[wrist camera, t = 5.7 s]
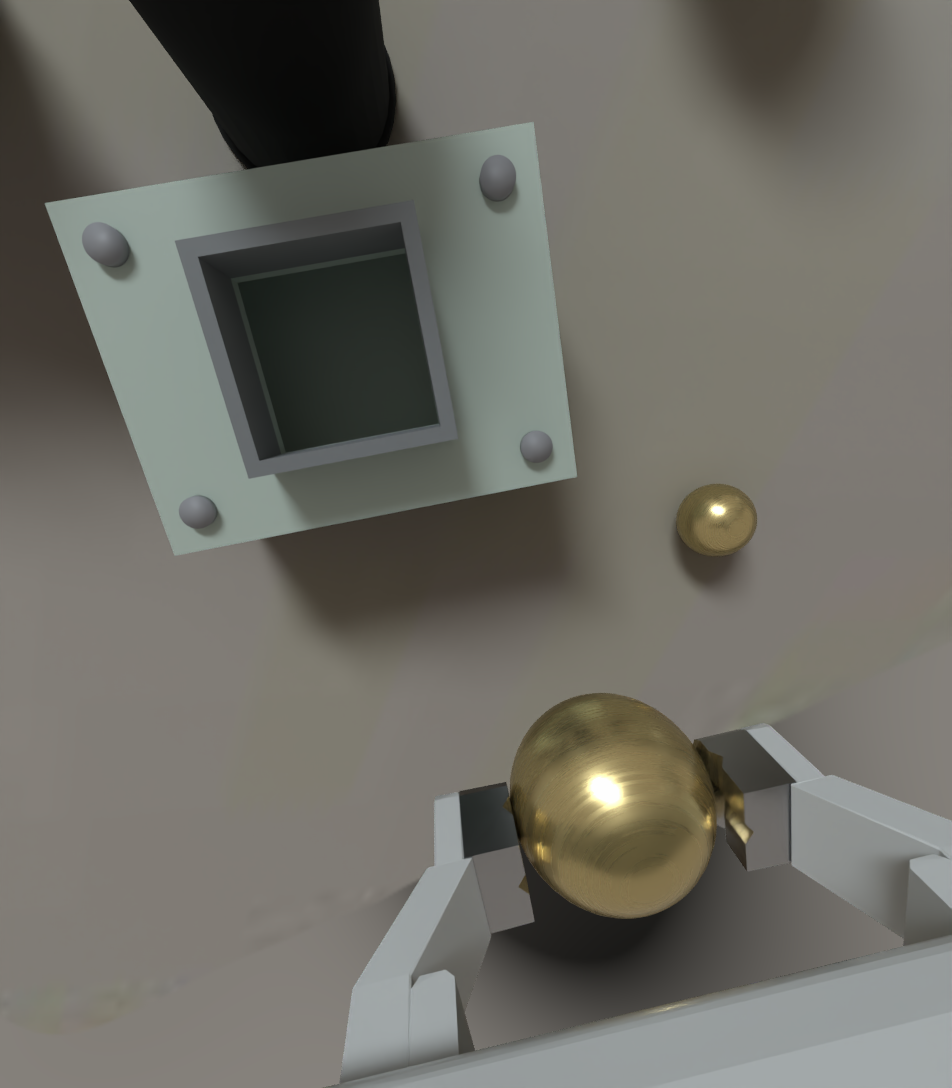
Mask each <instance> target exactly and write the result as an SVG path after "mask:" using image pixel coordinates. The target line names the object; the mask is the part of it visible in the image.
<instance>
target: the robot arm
mask: <svg viewBox="0 0 952 1088" xmlns="http://www.w3.org/2000/svg"><path fill="white" fill-rule="evenodd" d="M693 746H694V747H695V749H696V750H697V752H698V753H699V755H700V757H701V759H702V761H703V763H704V765H705V767H706V769H707V771H708V774H709V777H710V780H711V783H712V787H713V790H714V794H715V801H716V809H717V825H719V826H720V827H722V828H724V829H725V832H726V842H727V844H728V845H729V846H730V848H731V849H732V851H733V852H734V854H735V855H736V857H737V858H738V859H739V861H740V862H741V863H742V865H743V866H744V868H745V869H746V871H747V872H748V871H753V870H758V869H763V868H768V867H773V866H778V865H783V864H788V863H792V866H794V867H795V868H796V869H798V870H799V871H801V872H803V873H804V874H806V875H807V876H809V877H810V878H812V879H814V880H815V881H816V882H818V883H819V884H821V885H822V886H824V887H826V888H827V889H828V890H830V891H832V892H833V893H835V894H836V895H838V896H839V897H841V898H842V899H844V900H845V901H847V902H848V903H850V904H851V905H853V906H854V907H856V908H858V909H859V910H861V911H862V912H864V913H865V914H867V915H868V916H870V917H871V918H873V919H874V920H876V921H877V922H879V923H881V924H882V925H884V926H885V927H887V928H888V929H890V930H891V931H893V932H894V933H896V934H897V935H899V936H900V937H902V938H904V945H903V947H899V948H895V949H891V950H887V951H883V952H878V953H874V954H870V955H866V956H862V957H858V958H854V959H850V960H846V961H842V962H838V963H833V964H829V965H825V966H821V967H817V968H813V969H809V970H805V971H801V972H797V973H793V974H789V975H784V976H780V977H776V978H773V979H768V980H764V981H760V982H756V983H752V984H747V985H743V986H739V987H735V988H731V989H727V990H723V991H719V992H715V993H710V994H706V995H703V996H698V997H694V998H690V999H686V1000H681V1001H678V1002H673V1003H669V1004H665V1005H661V1006H657V1007H653V1008H649V1009H645V1010H640V1011H637V1012H632V1013H628V1014H624V1015H620V1016H616V1017H612V1018H607V1019H603V1020H599V1021H595V1022H591V1023H587V1024H583V1025H579V1026H575V1027H570V1028H566V1029H562V1030H558V1031H554V1032H550V1033H546V1034H542V1035H538V1036H534V1037H529V1038H526V1039H521V1040H517V1041H513V1042H509V1043H505V1044H501V1045H497V1046H492V1047H488V1048H485V1049H480V1050H476V1051H475V1048H474V1045H473V1041H472V1037H471V1034H470V1030H469V1027H468V1023H467V1019H466V1016H465V1010H466V1007H467V1004H468V1001H469V998H470V995H471V992H472V990H473V987H474V984H475V981H476V978H477V976H478V973H479V970H480V967H481V964H482V961H483V959H484V956H485V953H486V950H487V947H488V944H489V942H490V939H491V933H494V932H498V931H502V930H506V929H509V928H513V927H517V926H520V925H524V924H528V923H532V922H535V921H534V916H533V911H532V906H531V901H530V896H529V891H528V886H527V881H526V875H525V870H524V865H523V861H522V856H521V851H520V846H519V841H518V836H517V832H516V827H515V821H514V816H513V812H512V807H511V802H510V798H509V793H508V788H507V783H506V782H503V783H498V784H493V785H488V786H483V787H478V788H473V789H468V790H463V791H460V792H456V793H451V794H445V795H440V796H436V797H435V801H434V860H435V866H433V867H429V868H427V869H426V871H425V872H424V874H423V875H422V877H421V879H420V880H419V882H418V884H417V885H416V887H415V888H414V890H413V892H412V893H411V895H410V897H409V898H408V900H407V902H406V903H405V905H404V906H403V908H402V910H401V911H400V913H399V914H398V916H397V918H396V919H395V921H394V923H393V924H392V926H391V927H390V929H389V931H388V932H387V934H386V936H385V937H384V939H383V940H382V942H381V944H380V945H379V947H378V948H377V950H376V952H375V953H374V955H373V957H372V958H371V960H370V961H369V963H368V965H367V966H366V968H365V969H364V971H363V973H362V974H361V976H360V978H359V979H358V981H357V982H356V984H355V986H354V987H353V990H352V997H351V1005H350V1012H349V1019H348V1026H347V1034H346V1041H345V1048H344V1056H343V1062H342V1070H341V1077H340V1084H337V1085H333V1086H328V1087H325V1088H952V821H951V820H948V819H946V818H943V817H940V816H938V815H935V814H933V813H930V812H927V811H925V810H922V809H919V808H917V807H914V806H912V805H909V804H907V803H904V802H901V801H899V800H896V799H894V798H891V797H889V796H886V795H883V794H881V793H878V792H876V791H873V790H870V789H868V788H865V787H863V786H860V785H858V784H855V783H852V782H850V781H847V780H844V779H842V778H839V777H837V776H834V775H830V776H824V775H823V774H822V773H821V772H820V771H819V770H818V769H816V767H814V766H813V765H812V764H811V763H810V762H809V761H808V760H807V759H806V758H805V757H803V755H801V754H800V753H799V752H798V751H797V750H796V749H795V748H794V747H793V746H792V745H791V744H789V743H788V742H787V741H786V740H785V739H784V738H783V737H782V736H781V735H780V734H779V733H777V732H776V731H775V730H774V729H773V728H772V727H771V726H770V725H768V724H765V723H761V724H757V725H753V726H749V727H745V728H741V729H740V730H734V731H729V732H725V733H721V734H716V735H712V736H708V737H704V738H699V739H695V740H694V743H693Z"/></svg>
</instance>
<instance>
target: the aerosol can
mask: <svg viewBox="0 0 952 1088" xmlns="http://www.w3.org/2000/svg"><path fill="white" fill-rule="evenodd" d="M129 1H130V2H131V3H132V5H133V6H134V7H135V9H136V10H137V11H138V13H139V14H140V16H141V17H142V18H143V20H144V21H145V22H146V24H147V25H148V26H149V28H150V29H151V31H152V32H153V33H154V35H155V36H156V37H157V39H158V40H159V41H160V43H161V44H162V46H163V47H164V48H165V50H166V51H167V52H168V54H169V55H170V56H171V58H172V59H173V61H174V62H175V63H176V65H177V66H178V67H179V69H180V70H181V71H182V73H183V74H184V76H185V77H186V78H187V80H188V81H189V82H190V84H191V85H192V86H193V88H194V89H195V91H196V92H197V93H198V95H199V96H200V97H201V99H202V100H203V101H204V103H205V104H206V106H207V107H208V108H209V110H210V111H211V112H212V114H213V117H214V120H215V122H216V124H217V126H218V128H219V130H220V132H221V134H222V136H223V138H224V140H225V141H226V143H227V144H228V145H229V147H230V148H231V150H232V151H233V152H234V154H235V155H236V156H237V158H238V159H239V160H240V161H241V162H242V163H243V164H244V165H245V166H246V167H247V168H248V169H253V168H259V167H265V166H271V165H277V164H283V163H289V162H295V161H301V160H307V159H313V158H319V157H325V156H331V155H337V154H343V153H349V152H355V151H361V150H368V149H374V148H380V147H386V145H387V143H388V140H389V137H390V133H391V130H392V126H393V123H394V114H395V104H396V96H395V80H394V75H393V71H392V66H391V62H390V58H389V55H388V53H387V50H386V48H385V45H384V40H383V32H382V23H381V15H380V7H379V0H129Z"/></svg>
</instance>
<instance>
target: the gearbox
mask: <svg viewBox="0 0 952 1088" xmlns="http://www.w3.org/2000/svg"><path fill="white" fill-rule="evenodd" d="M45 206H46V208H47V211H48V214H49V216H50V219H51V222H52V225H53V227H54V230H55V233H56V235H57V238H58V241H59V244H60V246H61V249H62V252H63V254H64V257H65V260H66V263H67V265H68V268H69V271H70V273H71V276H72V279H73V281H74V284H75V287H76V290H77V292H78V295H79V298H80V300H81V303H82V306H83V309H84V311H85V314H86V317H87V319H88V322H89V325H90V328H91V330H92V333H93V336H94V338H95V341H96V344H97V347H98V349H99V352H100V355H101V357H102V360H103V363H104V366H105V368H106V371H107V374H108V376H109V379H110V382H111V385H112V387H113V390H114V393H115V395H116V398H117V401H118V403H119V406H120V409H121V412H122V414H123V417H124V420H125V422H126V425H127V428H128V431H129V433H130V436H131V439H132V441H133V444H134V447H135V450H136V452H137V455H138V458H139V460H140V463H141V466H142V469H143V471H144V474H145V477H146V479H147V482H148V485H149V488H150V490H151V493H152V496H153V498H154V501H155V504H156V507H157V509H158V512H159V515H160V517H161V520H162V523H163V525H164V528H165V531H166V534H167V536H168V539H169V542H170V544H171V547H172V550H173V553H174V555H175V556H176V555H181V554H186V553H191V552H197V551H202V550H207V549H212V548H217V547H222V546H227V545H232V544H237V543H242V542H248V541H253V540H258V539H263V538H268V537H273V536H278V535H283V534H288V533H293V532H298V531H304V530H309V529H314V528H319V527H324V526H329V525H334V524H339V523H344V522H349V521H355V520H360V519H365V518H370V517H375V516H380V515H385V514H390V513H395V512H400V511H406V510H411V509H416V508H421V507H426V506H431V505H436V504H441V503H446V502H451V501H457V500H462V499H467V498H472V497H477V496H482V495H487V494H492V493H497V492H502V491H508V490H513V489H518V488H523V487H528V486H533V485H538V484H543V483H548V482H553V481H559V480H564V479H569V478H574V477H577V471H576V463H575V455H574V447H573V439H572V431H571V422H570V414H569V406H568V398H567V390H566V382H565V374H564V366H563V358H562V349H561V341H560V333H559V325H558V317H557V309H556V301H555V293H554V285H553V277H552V268H551V260H550V252H549V244H548V236H547V228H546V220H545V212H544V204H543V196H542V187H541V179H540V171H539V163H538V155H537V147H536V139H535V131H534V123H533V122H530V123H524V124H518V125H512V126H506V127H500V128H494V129H488V130H482V131H476V132H470V133H464V134H458V135H452V136H446V137H440V138H434V139H428V140H422V141H416V142H410V143H404V144H398V145H392V146H386V147H380V148H374V149H368V150H361V151H355V152H349V153H343V154H337V155H331V156H325V157H319V158H313V159H307V160H301V161H295V162H289V163H283V164H277V165H271V166H265V167H259V168H253V169H247V170H241V171H235V172H229V173H223V174H217V175H211V176H205V177H199V178H193V179H187V180H181V181H175V182H169V183H163V184H157V185H151V186H145V187H139V188H133V189H127V190H121V191H115V192H109V193H103V194H97V195H91V196H85V197H79V198H72V199H66V200H60V201H54V202H48V203H45Z"/></svg>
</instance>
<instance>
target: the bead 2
mask: <svg viewBox="0 0 952 1088" xmlns="http://www.w3.org/2000/svg"><path fill="white" fill-rule="evenodd" d="M676 524H677V530H678V533H679V535H680V537H681V539H682V540H683V541H684V543H685V544H686V545H687V546H688V547H689V548H691V549H692V550H694V551H695V552H697V553H700V554H702V555H706V556H713V557H718V556H726V555H729V554H732V553H735V552H737V551H738V550H740V549H741V548H743V547H744V546H745V545H746V544H747V543H748V542H749V541H750V540H751V538H752V536H753V535H754V532H755V530H756V526H757V513H756V509H755V507H754V504H753V503H752V501H751V500H750V498H749V497H748V496H747V495H746V494H745V493H744V492H742V491H741V490H739V489H737V488H735V487H733V486H730V485H725V484H710V485H706V486H702V487H700V488H698V489H696V490H694V491H693V492H691V493H690V494H689V495H688V496H687V497H686V498H685V499H684V500H683V502H682V503H681V505H680V507H679V509H678V512H677V518H676Z"/></svg>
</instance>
